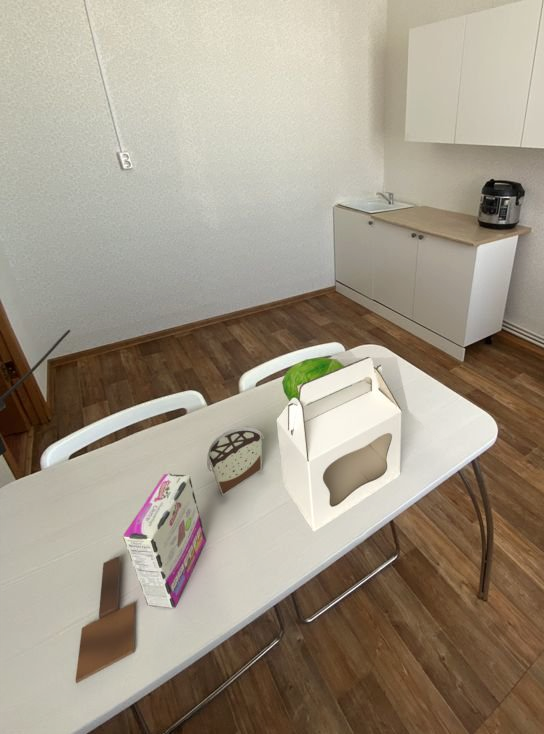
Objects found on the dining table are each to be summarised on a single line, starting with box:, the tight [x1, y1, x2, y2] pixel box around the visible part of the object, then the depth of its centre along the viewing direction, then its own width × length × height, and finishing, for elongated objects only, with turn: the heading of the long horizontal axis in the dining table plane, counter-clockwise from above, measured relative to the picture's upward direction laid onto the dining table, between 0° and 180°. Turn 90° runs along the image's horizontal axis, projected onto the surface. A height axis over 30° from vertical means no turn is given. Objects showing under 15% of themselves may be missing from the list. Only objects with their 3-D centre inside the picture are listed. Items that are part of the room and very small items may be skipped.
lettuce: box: [281, 356, 353, 406], centre depth 103 cm, size 17×20×17 cm
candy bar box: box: [122, 473, 207, 609], centre depth 63 cm, size 11×5×16 cm, turn 175°
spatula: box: [75, 555, 136, 684], centre depth 60 cm, size 16×7×1 cm, turn 28°
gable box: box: [275, 356, 403, 532], centre depth 78 cm, size 22×13×28 cm, turn 126°
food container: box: [206, 426, 265, 497], centre depth 83 cm, size 12×6×10 cm, turn 135°
